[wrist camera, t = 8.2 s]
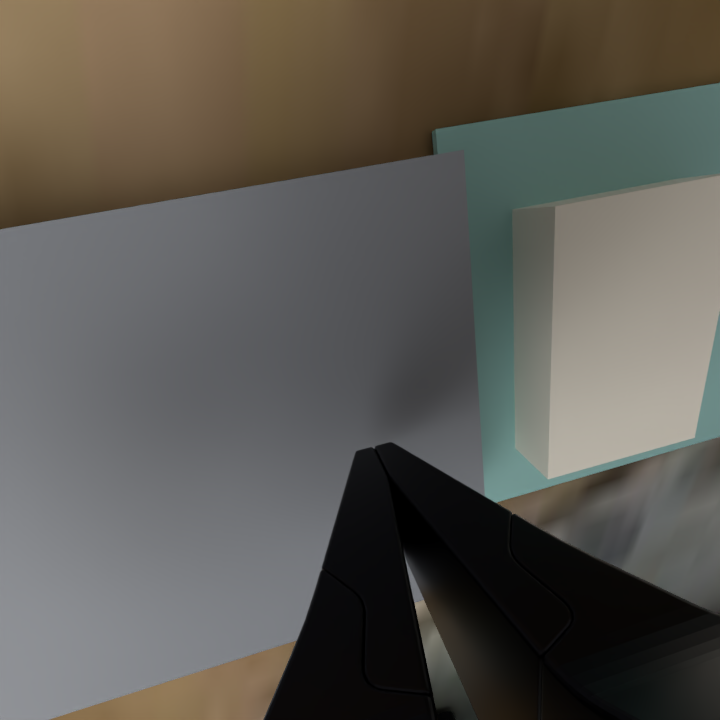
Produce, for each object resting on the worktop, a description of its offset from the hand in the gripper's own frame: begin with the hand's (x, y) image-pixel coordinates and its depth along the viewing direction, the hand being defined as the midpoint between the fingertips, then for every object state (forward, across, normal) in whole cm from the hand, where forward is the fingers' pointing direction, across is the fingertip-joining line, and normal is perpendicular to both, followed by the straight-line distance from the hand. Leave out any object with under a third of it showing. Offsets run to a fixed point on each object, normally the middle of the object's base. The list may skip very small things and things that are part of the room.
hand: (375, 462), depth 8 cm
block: (+3, -9, 0) cm, 10 cm away
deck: (+5, +5, 0) cm, 7 cm away
